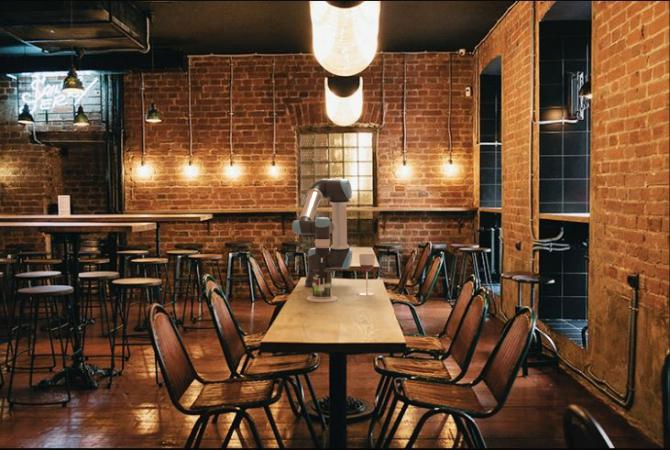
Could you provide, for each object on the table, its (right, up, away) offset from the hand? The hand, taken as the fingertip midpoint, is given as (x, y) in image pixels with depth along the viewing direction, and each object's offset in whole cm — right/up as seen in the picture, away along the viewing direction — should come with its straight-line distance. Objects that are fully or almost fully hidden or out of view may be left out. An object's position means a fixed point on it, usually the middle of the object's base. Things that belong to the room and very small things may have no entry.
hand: (322, 288), depth 313 cm
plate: (0, -6, 0) cm, 6 cm away
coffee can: (0, -4, 0) cm, 4 cm away
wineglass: (+24, -5, +20) cm, 32 cm away
